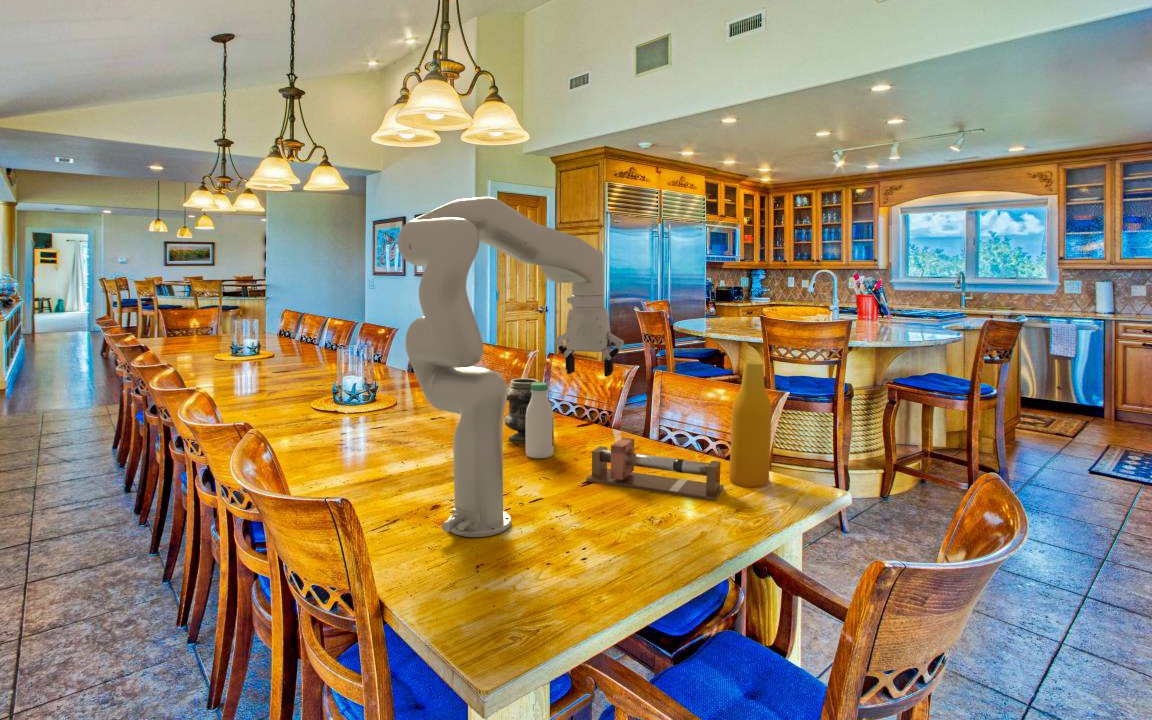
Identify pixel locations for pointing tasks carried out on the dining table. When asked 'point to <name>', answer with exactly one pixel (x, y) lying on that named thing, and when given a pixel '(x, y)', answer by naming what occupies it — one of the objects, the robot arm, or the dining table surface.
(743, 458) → the beer bottle
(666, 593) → the dining table surface
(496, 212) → the robot arm
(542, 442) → the milk bottle
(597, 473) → the pipe rig
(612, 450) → the collar
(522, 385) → the apothecary jar
